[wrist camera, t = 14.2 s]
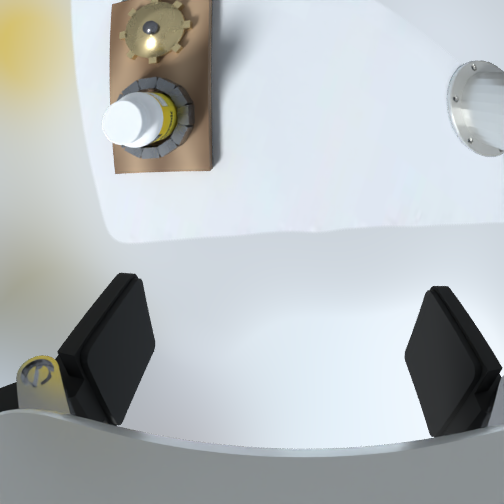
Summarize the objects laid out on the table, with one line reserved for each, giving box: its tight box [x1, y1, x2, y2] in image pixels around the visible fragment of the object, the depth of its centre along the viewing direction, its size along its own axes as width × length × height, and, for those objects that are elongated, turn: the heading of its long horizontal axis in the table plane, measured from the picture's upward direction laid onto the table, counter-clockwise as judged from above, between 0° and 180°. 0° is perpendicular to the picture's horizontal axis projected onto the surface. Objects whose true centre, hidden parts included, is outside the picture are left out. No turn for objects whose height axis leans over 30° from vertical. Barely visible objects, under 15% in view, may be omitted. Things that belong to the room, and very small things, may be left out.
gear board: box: [110, 0, 212, 174], centre depth 31 cm, size 12×22×2 cm, turn 0°
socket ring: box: [116, 77, 195, 159], centre depth 31 cm, size 9×9×2 cm
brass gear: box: [119, 0, 193, 64], centre depth 27 cm, size 8×8×2 cm
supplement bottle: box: [102, 92, 177, 148], centre depth 28 cm, size 5×5×10 cm
